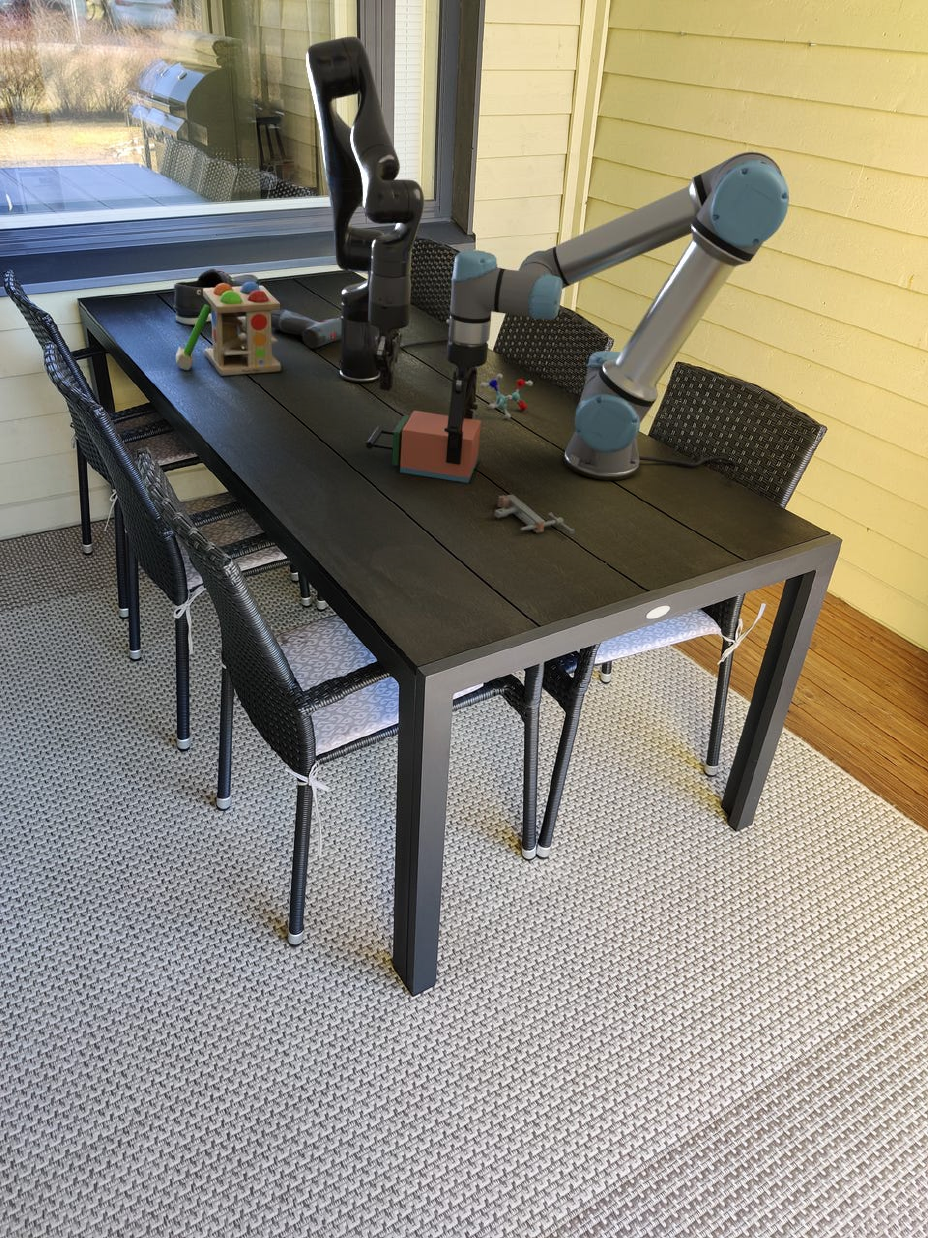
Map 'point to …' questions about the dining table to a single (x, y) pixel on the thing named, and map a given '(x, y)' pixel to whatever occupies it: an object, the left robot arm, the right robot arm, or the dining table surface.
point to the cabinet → (437, 447)
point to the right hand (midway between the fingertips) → (458, 451)
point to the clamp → (526, 514)
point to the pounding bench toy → (229, 347)
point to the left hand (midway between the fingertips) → (385, 388)
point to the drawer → (396, 440)
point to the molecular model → (501, 397)
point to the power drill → (307, 327)
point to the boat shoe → (191, 293)
